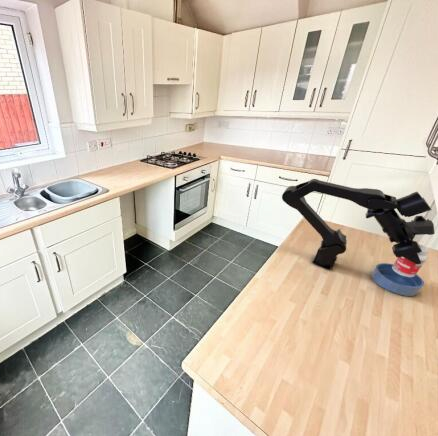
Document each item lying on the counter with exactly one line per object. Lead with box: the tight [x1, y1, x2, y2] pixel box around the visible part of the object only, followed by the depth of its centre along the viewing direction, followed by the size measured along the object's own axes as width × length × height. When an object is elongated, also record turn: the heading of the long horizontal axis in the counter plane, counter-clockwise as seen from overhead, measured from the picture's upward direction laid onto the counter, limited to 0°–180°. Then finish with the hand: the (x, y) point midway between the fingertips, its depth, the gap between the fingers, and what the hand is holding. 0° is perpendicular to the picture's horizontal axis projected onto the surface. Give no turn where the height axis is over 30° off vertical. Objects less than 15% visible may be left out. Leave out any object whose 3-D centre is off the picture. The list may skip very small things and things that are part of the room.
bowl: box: [370, 262, 425, 297], centre depth 91 cm, size 13×13×4 cm
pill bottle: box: [392, 244, 429, 277], centre depth 85 cm, size 6×6×11 cm
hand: (417, 259), depth 84 cm, fingers closed on pill bottle, 6 cm apart
